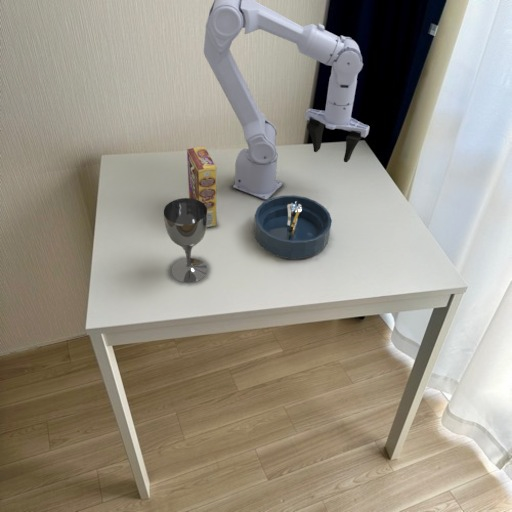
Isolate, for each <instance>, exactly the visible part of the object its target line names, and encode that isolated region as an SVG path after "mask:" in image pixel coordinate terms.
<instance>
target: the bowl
mask: <svg viewBox="0 0 512 512" xmlns="http://www.w3.org/2000/svg"><path fill="white" fill-rule="evenodd" d="M295 201H297V205H298V204H301V205H302V210H301V212H300V213H299V218H298V222H297V226H296V229H295V232H294V235H293V236H292V237H289V236H287V224H288V207H287V206H288V204H292V203H293V204H295ZM293 220H294V214H292V213H291V225H292V223H293ZM332 221H333V220H332V217H331V214H330V212H329V210H327V208H326V207H325V206H324V205H323V204H321V203H320V202H318V201H316V200H314V199H311V198H309V197H305V196H300V195H295V194H294V195H292V194H291V195H290V194H289V195H280V196H275V197H270V198H268V199H267V200H264V201H263V202H262V203H261V204H259V206H258V207H257V208H256V210H255V214H254V221H253V222H254V223H253V224H254V225H253V232H254V240H256V242H257V244H258V245H259V246H260V247H261V248H262V249H263V250H265V251H266V252H267V253H270V254H271V255H274V256H277V257H279V258H284V259H290V260H291V259H293V260H294V259H306V258H309V257H313V256H315V255H317V254H319V253H320V252H322V251H323V250H324V249H325V248H326V246H328V244H329V238H330V233H331V227H332ZM290 228H291V227H290Z"/></svg>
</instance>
